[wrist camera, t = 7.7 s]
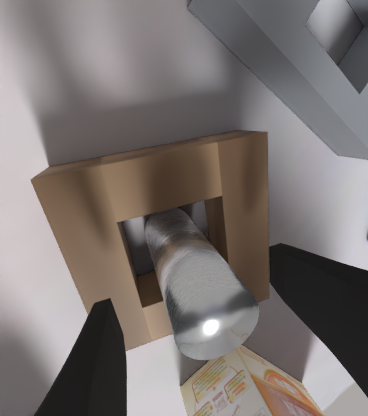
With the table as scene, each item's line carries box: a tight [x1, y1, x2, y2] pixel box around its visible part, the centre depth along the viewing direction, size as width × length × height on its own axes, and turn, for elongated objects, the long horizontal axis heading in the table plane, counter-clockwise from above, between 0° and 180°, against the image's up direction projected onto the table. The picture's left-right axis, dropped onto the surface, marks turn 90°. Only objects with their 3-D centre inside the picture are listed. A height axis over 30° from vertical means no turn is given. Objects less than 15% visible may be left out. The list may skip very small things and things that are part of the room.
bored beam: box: [188, 0, 368, 160], centre depth 12 cm, size 14×8×3 cm, turn 57°
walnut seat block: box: [31, 130, 269, 351], centre depth 14 cm, size 11×11×3 cm
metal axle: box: [145, 208, 259, 360], centre depth 12 cm, size 3×3×8 cm
